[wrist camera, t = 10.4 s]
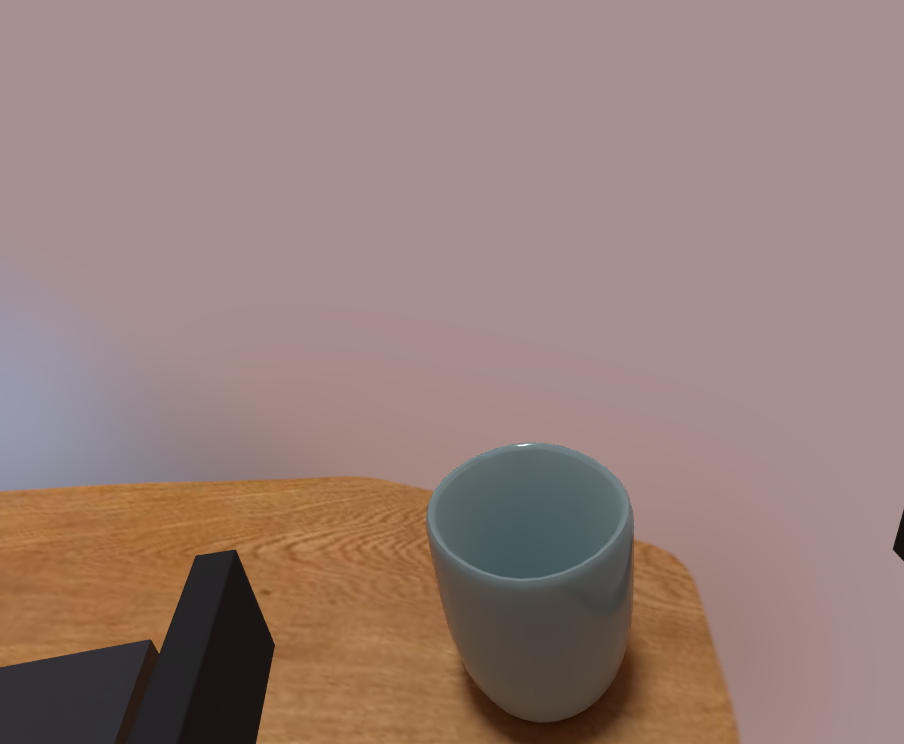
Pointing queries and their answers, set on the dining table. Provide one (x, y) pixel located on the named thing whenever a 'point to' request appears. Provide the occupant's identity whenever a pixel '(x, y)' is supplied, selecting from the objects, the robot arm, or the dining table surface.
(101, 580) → the dining table surface
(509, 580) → the cup
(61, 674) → the scale
